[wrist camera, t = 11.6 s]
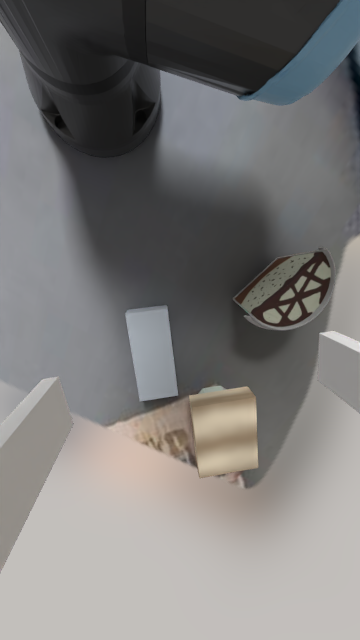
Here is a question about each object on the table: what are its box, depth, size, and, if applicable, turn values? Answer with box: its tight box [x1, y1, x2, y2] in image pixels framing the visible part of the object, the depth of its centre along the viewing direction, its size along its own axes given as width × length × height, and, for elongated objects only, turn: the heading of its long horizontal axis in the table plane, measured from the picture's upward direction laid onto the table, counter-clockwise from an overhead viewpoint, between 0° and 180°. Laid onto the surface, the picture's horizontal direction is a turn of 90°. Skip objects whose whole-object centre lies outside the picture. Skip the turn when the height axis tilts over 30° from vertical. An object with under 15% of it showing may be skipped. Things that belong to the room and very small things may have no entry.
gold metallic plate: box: [189, 386, 258, 478], centre depth 35 cm, size 12×9×3 cm
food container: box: [233, 247, 336, 331], centre depth 32 cm, size 12×6×10 cm, turn 133°
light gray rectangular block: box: [125, 305, 178, 401], centre depth 36 cm, size 14×6×3 cm, turn 6°
